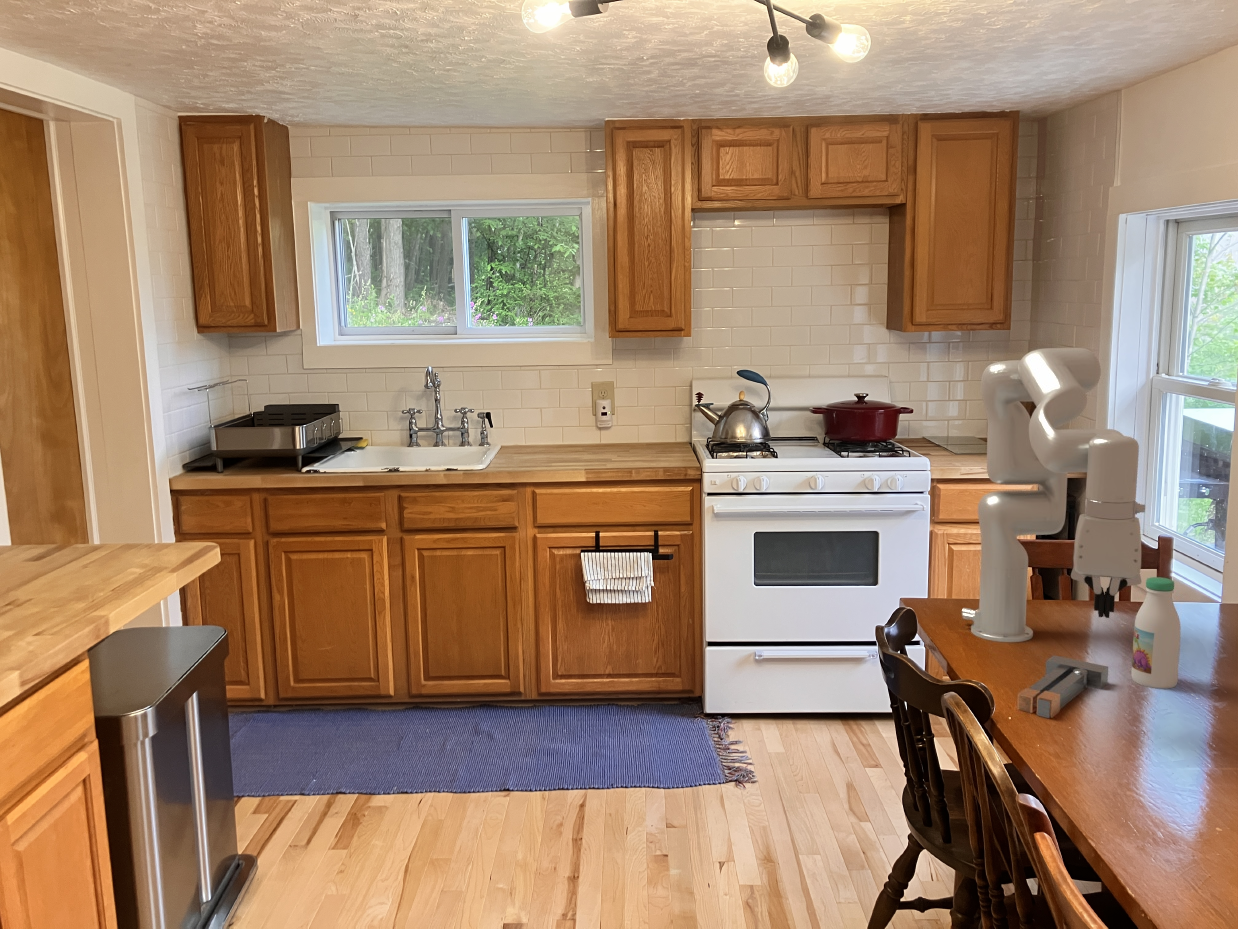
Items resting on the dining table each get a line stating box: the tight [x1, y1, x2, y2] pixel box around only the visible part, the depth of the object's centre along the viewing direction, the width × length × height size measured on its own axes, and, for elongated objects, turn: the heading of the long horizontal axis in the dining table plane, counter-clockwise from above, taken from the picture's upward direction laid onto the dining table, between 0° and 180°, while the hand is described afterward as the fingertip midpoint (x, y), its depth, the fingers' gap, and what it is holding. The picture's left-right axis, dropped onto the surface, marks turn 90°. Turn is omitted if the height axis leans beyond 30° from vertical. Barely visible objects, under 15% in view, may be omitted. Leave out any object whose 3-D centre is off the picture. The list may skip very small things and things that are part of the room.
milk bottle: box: [1131, 576, 1181, 690], centre depth 188 cm, size 8×8×20 cm
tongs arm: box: [1036, 669, 1088, 719], centre depth 180 cm, size 19×3×3 cm, turn 137°
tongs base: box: [1016, 654, 1109, 714], centre depth 183 cm, size 10×23×4 cm, turn 137°
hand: (1103, 615), depth 170 cm, fingers closed
